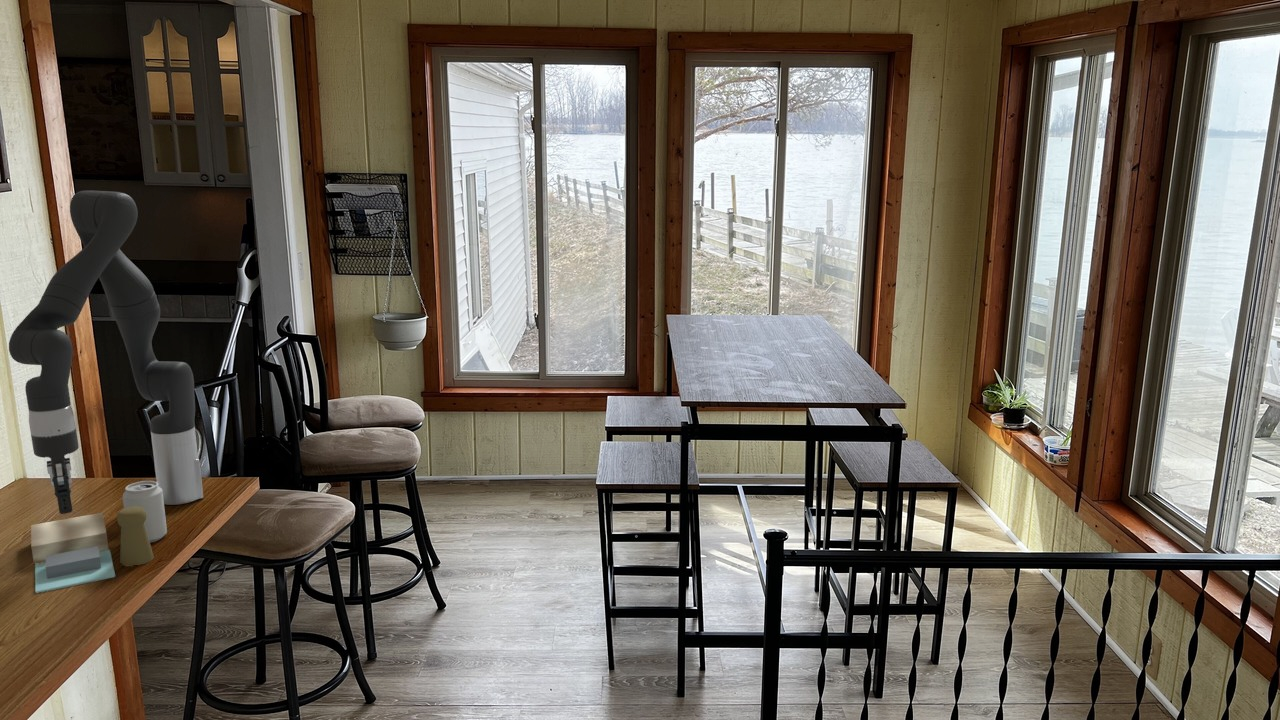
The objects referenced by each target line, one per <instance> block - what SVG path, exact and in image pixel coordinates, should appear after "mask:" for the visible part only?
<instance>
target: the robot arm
mask: <svg viewBox="0 0 1280 720" xmlns="http://www.w3.org/2000/svg"><path fill="white" fill-rule="evenodd" d="M138 212H139V211H138V207H137V205H136V202H135V200H134V199H133V198H132V197H131V196H130V195H128V194H126V193H125V192H121V191H110V190H109V191H108V190H89V189H87V190H81V191H77V192H76V193H74V195H73V196H72V197H71V199H70V203H69V214H70V215H69V216H70V219H71V222H72V225H73V227H74V229H75V231H76V233H77V235H78V237H79V239H80V241H81V243H82V245H83V248H82V249H81V250H80V251H79V252H78V253H76V255H73V257H72V258H70V259H69V260H68V261H67V262H65V263H64V264H63V265H62V266H61V267H60V268H59V269H58V270H57V271H55V273H54V275H52V277H51V278H50V280H49V282H48V284H47V286H46V288H45V290H44V292H43V294H42V296H41V298H40V300H39V302H38V304H37V305H36V306H34V308H33V309H32V310H30V312H29V313H28V314H27V315H26V316H25V317H24V319H23V320H22V321H21V322H20V323H19V324H18V325H17V326H16V327H15V329H14V331H12V334H11V336H10V338H9V342H8V352H9V355H10V356H11V358H12V359H13V360H14V361H15V362H17V363H18V364H21V365H31V366H32V365H33V366H40V368H41V369H40V370H41V371H40V374H39V375H38V376H33V377H32V378H30V379H28V380H27V381H26V383H25V387H24V388H25V396H26V403H27V409H28V424H29V431H30V436H31V437H30V439H31V443H32V449H33V455H34V456H35V457H37V458H49V459H50V460H46V468H47V471H46V472H47V474H49V479H50V486H51V487H52V488H54V496H55V497H56V498H57V499H56V500H57V507H58V511H59V514H61V515H65V514H70V513H73V504H72V497H71V495H72V494H71V493H72V489H71V487H70V486H71V484H72V482H73V481H72V475H71V470H72V465H71V458H70V457H66V456H67V455H70V454H73V453H74V452H76V451H78V449H79V447H80V446H79V439H78V433H77V425H76V420H75V419H76V418H75V414H74V410H73V408H72V403H71V396H70V395H71V394H70V389H69V380H70V375H71V369H72V368H71V367H72V363H73V362H72V361H73V356H74V355H73V352H74V349H73V343H72V341H71V339H70V337H69V336H68V334H67V333H65V332H64V331H63V330H60V328H62V327H67V326H70V325H72V324H75V322H76V321H77V320H78V318H79V317H80V314H81V312H82V311H83V309H84V306H85V304H86V302H87V299H88V298H89V295H90V294H91V291H92V289H93V287H94V286H95V284H96V283H97V281H98V279H99V281H100V282H101V286H102V289H103V291H104V294H105V296H106V299H107V302H108V305H109V308H110V311H111V312H112V315H113V317H114V320H115V322H116V325H117V327H118V330H119V333H120V335H121V338H122V339H123V343H124V345H125V350H126V352H127V355H128V359H129V364H130V366H131V368H130V369H131V371H132V375H133V378H134V382H135V383H134V384H135V385H136V388H137V390H138V393H139V394H140V396H141V397H142V398H143V399H145V400H147V401H152V402H168V403H169V407H168V408H169V409H168V411H166V412H164V413H161V414H158V415H155V416H153V417H152V418H151V419H150V422H149V425H150V427H149V428H150V435H151V445H152V454H153V461H154V472H155V479H156V480H155V482H157V483H158V486H159V487H160V488H161V489H162V491H163V500H164V505H171V506H173V505H174V506H175V505H176V506H177V505H183V504H188V503H191V502H194V501H197V500H199V499H203V498H204V490H203V480H202V471H201V463H200V458H199V457H198V456H199V455H198V448H197V436H196V428H195V418H196V417H195V416H196V401H195V399H196V398H195V379H194V373H193V371H192V368H191V367H190V365H189V364H188V363H187V362H184V361H171V360H170V361H167V360H166V361H164V360H163V361H159V360H158V359H157V357H156V355H155V353H154V349H153V345H152V341H153V336H154V334H155V332H156V329H157V326H158V325H159V324H158V323H159V321H160V319H161V318H160V317H161V306H160V304H159V300H158V298H157V295H156V292H155V290H154V286H153V284H152V283H151V280H149V279H148V277H147V276H146V275H145V274H144V273H143V271H142V270H141V269H139V267H137V266H136V265H135V264H134V263H133V262H132V261H131V260H130V259H129V258H128V257H127V256H126V255H125V253H123V251H122V250H121V247H122V246H123V244H125V242H126V241H127V239H128V237H130V235H131V234H132V232H133V230H134V229H135V227H136V225H137V221H138V215H139V214H138Z"/></svg>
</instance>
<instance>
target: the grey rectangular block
mask: <svg viewBox="0 0 1280 720" xmlns="http://www.w3.org/2000/svg"><path fill="white" fill-rule="evenodd" d="M45 557H46V574H47V579H49V578H54V577H59V576H64V575H69V574H74V573H79V572H84V571H89V570H94V569H99V568H101V563H100V555H99V548H98V546H96V547H91V548H85V549H80V550H75V551H70V552H64V553H59V554H54V555H48V556H45Z"/></svg>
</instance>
